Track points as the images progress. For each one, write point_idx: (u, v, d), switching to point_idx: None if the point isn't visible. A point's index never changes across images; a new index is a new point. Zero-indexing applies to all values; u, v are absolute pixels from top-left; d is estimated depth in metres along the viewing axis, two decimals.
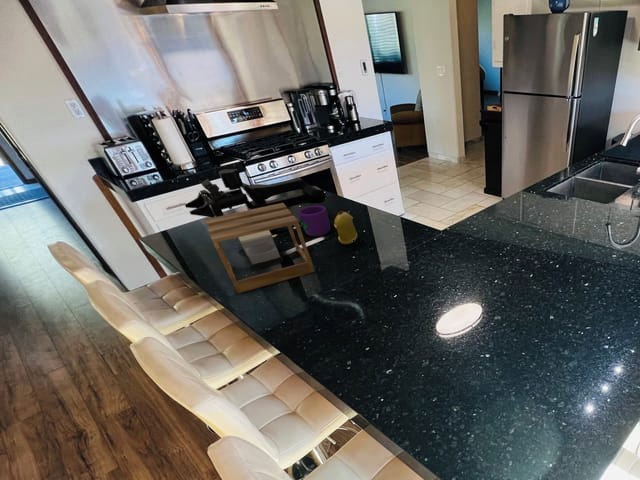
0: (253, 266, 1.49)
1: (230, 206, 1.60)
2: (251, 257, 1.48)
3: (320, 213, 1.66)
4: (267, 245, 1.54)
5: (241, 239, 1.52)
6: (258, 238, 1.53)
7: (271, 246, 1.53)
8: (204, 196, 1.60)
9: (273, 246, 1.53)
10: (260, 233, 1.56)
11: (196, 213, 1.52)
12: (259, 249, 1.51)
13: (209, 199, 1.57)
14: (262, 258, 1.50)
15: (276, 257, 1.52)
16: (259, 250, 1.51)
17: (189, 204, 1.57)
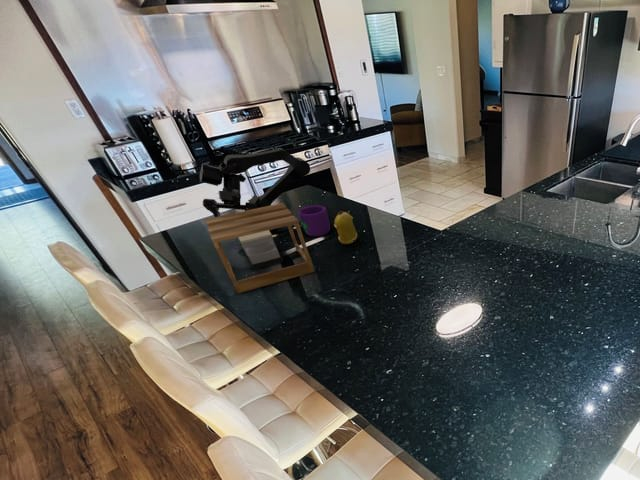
0: (253, 266, 1.49)
1: None
2: (251, 257, 1.48)
3: (320, 213, 1.66)
4: (267, 245, 1.54)
5: (241, 239, 1.52)
6: (258, 238, 1.53)
7: (271, 246, 1.53)
8: (214, 205, 1.56)
9: (273, 246, 1.53)
10: (260, 233, 1.56)
11: None
12: (259, 249, 1.51)
13: (231, 205, 1.57)
14: (262, 258, 1.50)
15: (276, 257, 1.52)
16: (259, 250, 1.51)
17: None
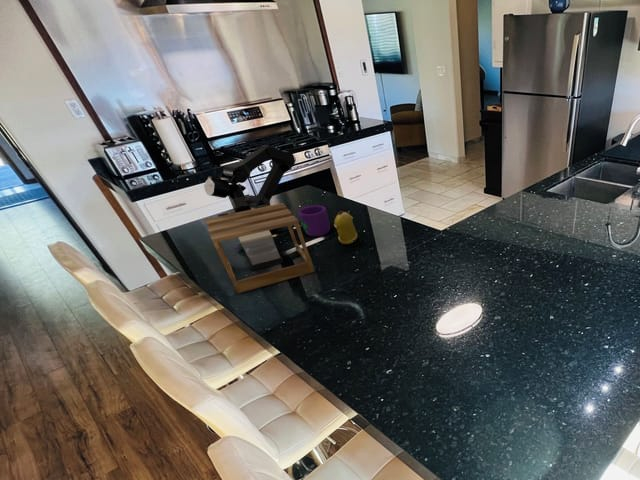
0: (253, 267, 1.49)
1: None
2: (251, 258, 1.47)
3: (320, 213, 1.66)
4: (267, 246, 1.54)
5: (241, 239, 1.51)
6: (258, 238, 1.53)
7: (271, 246, 1.53)
8: None
9: (273, 247, 1.53)
10: (260, 233, 1.55)
11: None
12: (259, 250, 1.51)
13: None
14: (262, 258, 1.49)
15: (276, 258, 1.52)
16: (259, 251, 1.50)
17: None
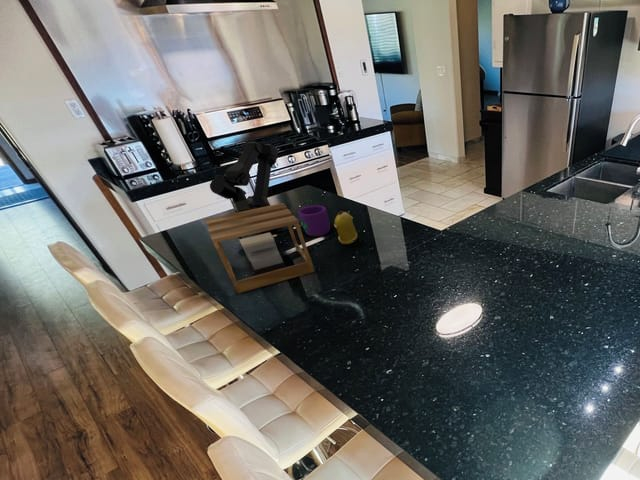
0: (255, 271, 1.46)
1: None
2: (253, 262, 1.44)
3: (320, 213, 1.66)
4: (269, 250, 1.51)
5: (243, 244, 1.48)
6: (260, 243, 1.50)
7: (273, 250, 1.50)
8: None
9: (276, 251, 1.50)
10: (262, 237, 1.52)
11: None
12: (262, 254, 1.48)
13: None
14: (264, 263, 1.46)
15: (279, 262, 1.49)
16: (261, 255, 1.47)
17: (241, 238, 1.53)
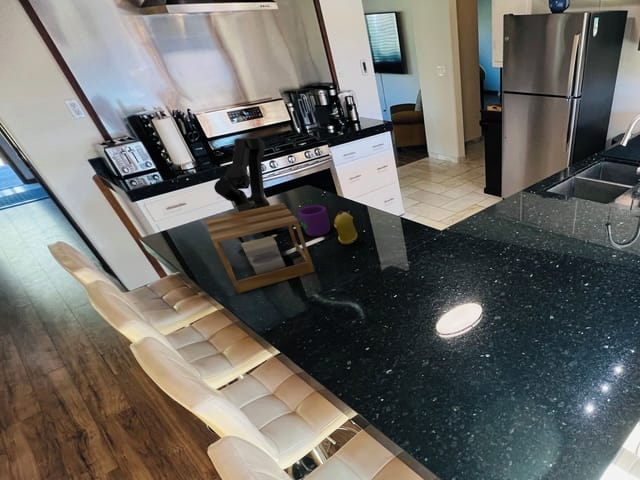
0: None
1: None
2: (255, 267, 1.42)
3: (320, 213, 1.66)
4: (272, 254, 1.48)
5: (245, 248, 1.46)
6: (262, 247, 1.47)
7: (275, 255, 1.47)
8: None
9: (278, 255, 1.47)
10: (264, 241, 1.50)
11: (270, 235, 1.55)
12: (264, 258, 1.45)
13: None
14: (267, 267, 1.44)
15: (281, 267, 1.46)
16: (263, 259, 1.45)
17: (243, 242, 1.50)
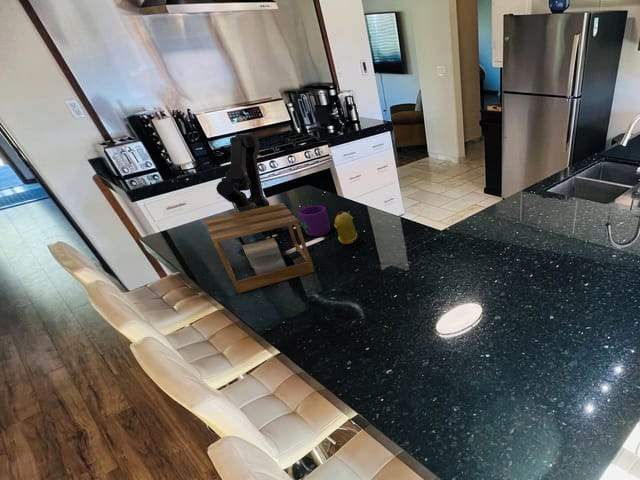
0: None
1: None
2: (256, 269, 1.40)
3: (320, 213, 1.66)
4: (273, 256, 1.46)
5: (246, 250, 1.44)
6: (264, 249, 1.46)
7: (277, 257, 1.46)
8: None
9: (279, 257, 1.46)
10: (266, 244, 1.48)
11: (271, 237, 1.53)
12: (265, 261, 1.44)
13: None
14: (268, 270, 1.42)
15: None
16: (265, 262, 1.43)
17: (244, 244, 1.49)
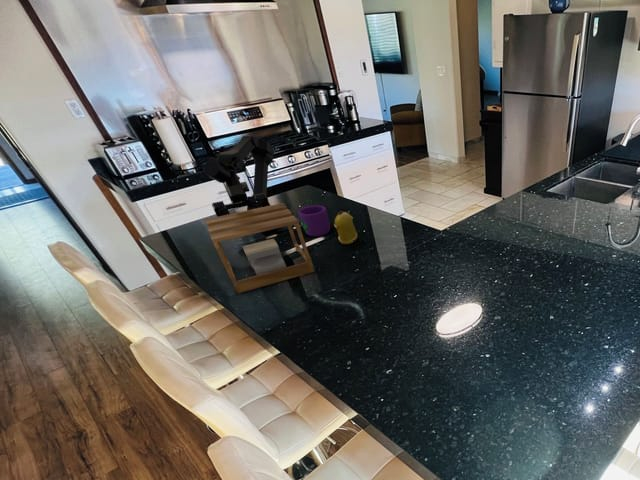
0: None
1: None
2: (257, 270, 1.40)
3: (320, 213, 1.66)
4: (273, 257, 1.46)
5: (246, 251, 1.44)
6: (264, 250, 1.45)
7: (277, 258, 1.46)
8: (225, 207, 1.47)
9: (280, 258, 1.45)
10: (266, 244, 1.48)
11: None
12: (265, 262, 1.43)
13: (241, 202, 1.49)
14: (268, 270, 1.42)
15: None
16: (265, 262, 1.43)
17: None
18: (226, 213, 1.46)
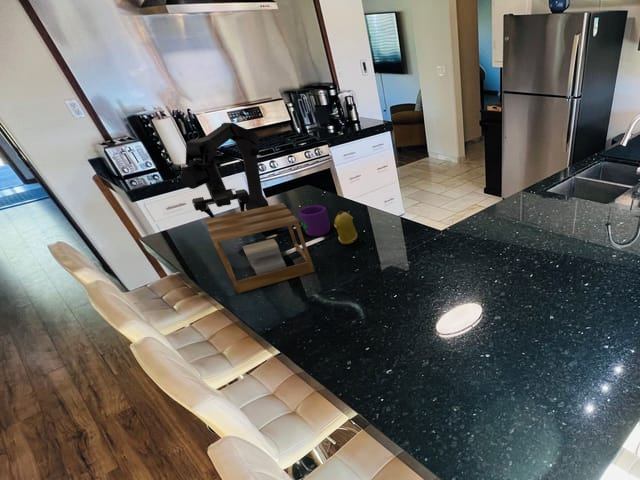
0: None
1: None
2: (257, 270, 1.40)
3: (320, 213, 1.66)
4: (273, 257, 1.46)
5: (246, 251, 1.44)
6: (264, 250, 1.45)
7: (277, 258, 1.46)
8: (206, 206, 1.47)
9: (280, 258, 1.45)
10: (266, 244, 1.48)
11: None
12: (265, 262, 1.43)
13: None
14: (268, 270, 1.42)
15: None
16: (265, 262, 1.43)
17: None
18: (208, 212, 1.48)
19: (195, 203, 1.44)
